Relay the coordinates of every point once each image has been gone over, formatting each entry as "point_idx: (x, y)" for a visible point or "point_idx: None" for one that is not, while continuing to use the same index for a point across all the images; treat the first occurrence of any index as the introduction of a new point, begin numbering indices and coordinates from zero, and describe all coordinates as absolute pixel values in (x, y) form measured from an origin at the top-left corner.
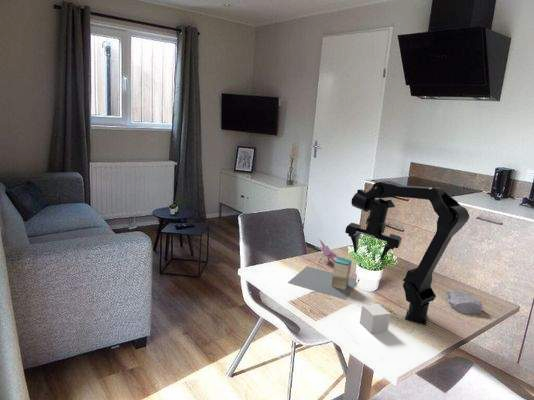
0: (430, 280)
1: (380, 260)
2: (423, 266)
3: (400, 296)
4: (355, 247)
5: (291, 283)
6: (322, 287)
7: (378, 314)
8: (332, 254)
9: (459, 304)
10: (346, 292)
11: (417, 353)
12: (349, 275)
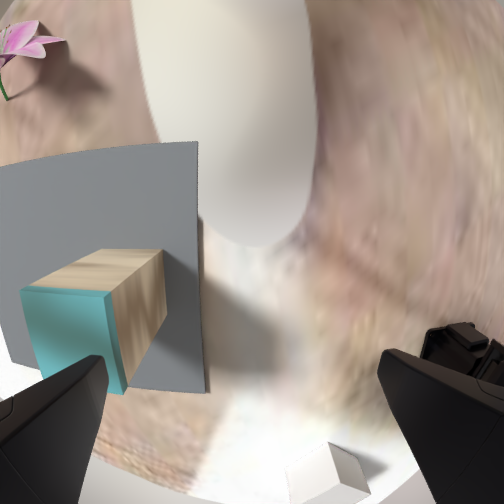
0: None
1: (383, 384)
2: None
3: (408, 207)
4: (84, 454)
5: (19, 361)
6: None
7: None
8: (16, 50)
9: None
10: (184, 335)
11: (405, 472)
12: (146, 264)
